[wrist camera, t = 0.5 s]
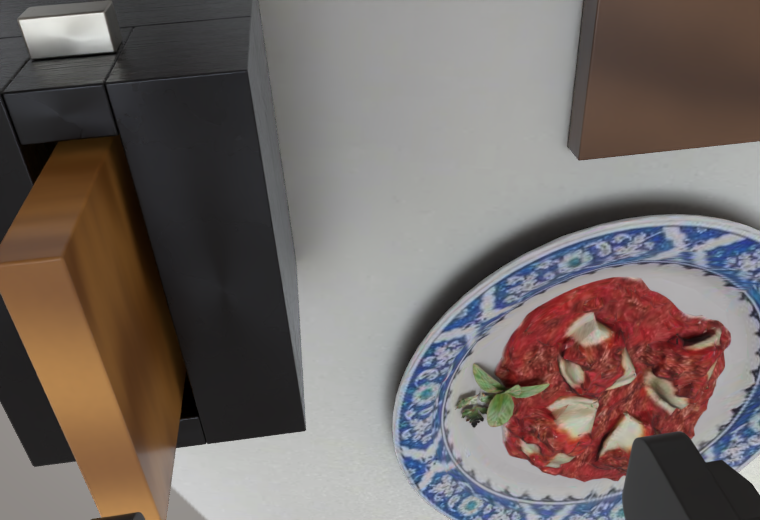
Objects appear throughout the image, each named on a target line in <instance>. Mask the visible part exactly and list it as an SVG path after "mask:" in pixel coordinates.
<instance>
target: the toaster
mask: <svg viewBox="0 0 760 520" xmlns="http://www.w3.org/2000/svg"><path fill="white" fill-rule="evenodd" d="M117 135H119V136H120V139H121V143H122V146H123V150H124V153H125V157H126V160H127V164H128V167H129V171H130V174H131V178H132V181H133V185H134V188H135V192H136V195H137V199H138V202H139V206H140V209H141V213H142V216H143V220H144V224H145V227H146V231H147V234H148V238H149V241H150V245H151V248H152V252H153V255H154V259H155V262H156V266H157V269H158V273H159V276H160V280H161V283H162V287H163V290H164V294H165V297H166V301H167V304H168V308H169V312H170V315H171V319H172V322H173V326H174V329H175V333H176V336H177V340H178V343H179V347H180V350H181V354H182V357H183V361H184V364H185V368H186V378H185V385H184V393H183V400H182V407H181V415H180V422H179V429H178V437H177V444H176V448H180V447H187V446H195V445H202V444H206V442H207V444H211V443H219V442H226V441H234V440H241V439H249V438H256V437H264V436H271V435H279V434H286V433H294V432H301V431H305V430H306V422H305V405H304V387H303V370H302V352H301V335H300V317H299V300H298V282H297V265H296V258H295V251H294V244H293V237H292V230H291V223H290V216H289V209H288V202H287V196H286V189H285V182H284V175H283V168H282V161H281V154H280V147H279V140H278V133H277V126H276V119H275V113H274V106H273V99H272V92H271V85H270V78H269V71H268V64H267V57H266V50H265V43H264V36H263V30H262V23H261V16H260V9H259V2H258V0H0V244H1V242H2V240H3V238H4V236H5V235H6V233H7V231H8V229H9V228H10V226H11V224H12V222H13V221H14V219H15V217H16V215H17V214H18V212H19V210H20V208H21V206H22V205H23V203H24V201H25V199H26V198H27V196H28V194H29V192H30V191H31V189H32V187H33V185H34V183H35V182H36V180H37V178H38V176H39V175H40V173H41V171H42V169H43V168H44V166H45V164H46V162H47V161H48V159H49V157H50V155H51V153H52V152H53V150H54V148H55V146H56V145H57V143H58V141H68V140H79V139H89V138H99V137H109V136H117ZM0 402H1V404H2V406H3V408H4V410H5V412H6V414H7V416H8V418H9V420H10V422H11V424H12V426H13V428H14V429H15V432H16V434H17V436H18V437H19V439H20V441H21V443H22V445H23V447H24V449H25V451H26V453H27V455H28V457H29V459H30V461H31V463H32V465H33V466H34V467H37V466H44V465H52V464H59V463H66V462H74V461H76V460H75V457H74V455H73V453H72V451H71V449H70V446H69V444H68V442H67V440H66V438H65V435H64V433H63V431H62V429H61V426H60V424H59V422H58V420H57V418H56V415H55V413H54V411H53V409H52V407H51V404H50V402H49V400H48V398H47V395H46V393H45V391H44V389H43V387H42V384H41V382H40V380H39V378H38V376H37V373H36V371H35V369H34V367H33V364H32V362H31V360H30V358H29V356H28V353H27V351H26V349H25V347H24V345H23V342H22V340H21V338H20V336H19V333H18V331H17V329H16V327H15V325H14V322H13V320H12V318H11V316H10V314H9V311H8V309H7V307H6V305H5V302H4V300H3V298H2V296H1V294H0Z"/></svg>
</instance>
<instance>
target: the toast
mask: <svg viewBox="0 0 760 520" xmlns="http://www.w3.org/2000/svg"><path fill="white" fill-rule="evenodd" d="M0 294H1V296H2V298H3V300H4V302H5V305H6V307H7V309H8V311H9V314H10V316H11V318H12V320H13V322H14V325H15V327H16V329H17V331H18V333H19V336H20V338H21V340H22V342H23V345H24V347H25V349H26V351H27V353H28V356H29V358H30V360H31V362H32V364H33V367H34V369H35V371H36V373H37V376H38V378H39V380H40V382H41V384H42V387H43V389H44V391H45V393H46V395H47V398H48V400H49V402H50V404H51V407H52V409H53V411H54V413H55V415H56V418H57V420H58V422H59V424H60V426H61V429H62V431H63V433H64V435H65V438H66V440H67V442H68V444H69V446H70V449H71V451H72V453H73V455H74V457H75V460H76V462H77V464H78V466H79V469H80V471H81V473H82V475H83V477H84V479H85V482H86V484H87V486H88V488H89V490H90V493H91V495H92V497H93V499H94V502H95V504H96V506H97V508H98V511H99V513H100V515H101V517H109V516H115V515H122V514H129V513H135V512H141V513H142V514H143V516H144V518H145V520H166V517H167V510H168V502H169V495H170V488H171V481H172V473H173V466H174V459H175V451H176V444H177V437H178V429H179V422H180V415H181V407H182V400H183V393H184V385H185V378H186V368H185V364H184V361H183V357H182V354H181V350H180V347H179V343H178V340H177V336H176V333H175V329H174V326H173V322H172V319H171V315H170V312H169V308H168V304H167V301H166V297H165V294H164V290H163V287H162V283H161V280H160V276H159V273H158V269H157V266H156V262H155V259H154V255H153V252H152V248H151V245H150V241H149V238H148V234H147V231H146V227H145V224H144V220H143V216H142V213H141V209H140V206H139V202H138V199H137V195H136V192H135V188H134V185H133V181H132V178H131V174H130V171H129V167H128V164H127V160H126V157H125V153H124V150H123V146H122V143H121V139H120V136H119V135H117V136H109V137H99V138H89V139H79V140H68V141H58V143H57V145H56V146H55V148H54V150H53V152H52V153H51V155H50V157H49V159H48V161H47V162H46V164H45V166H44V168H43V169H42V171H41V173H40V175H39V176H38V178H37V180H36V182H35V183H34V185H33V187H32V189H31V191H30V192H29V194H28V196H27V198H26V199H25V201H24V203H23V205H22V206H21V208H20V210H19V212H18V214H17V215H16V217H15V219H14V221H13V222H12V224H11V226H10V228H9V229H8V231H7V233H6V235H5V236H4V238H3V240H2V242H1V244H0Z"/></svg>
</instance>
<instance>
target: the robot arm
mask: <svg viewBox="0 0 760 520" xmlns="http://www.w3.org/2000/svg"><path fill="white" fill-rule="evenodd" d="M622 505H623V511H624V516H625V520H760V495H759V493H758V492H757V490H756V489H755V488H754V486H753V485H752V484H751V483H750V482H749V481H748V480H747V479H745V478H744V477H743V476H742V475H740V474H739V473H738V472H737V471H735V470H734V469H733V468H732V467H731V466H729V465H728V464H727V463H726V462H724V461H723V460H717V461H711V462H705V461H704V459H703V457H702V456H701V454H700V453H699V451H698V449H697V448H696V446H695V445H694V443H693V442H692V440H691V439H690V438H689V437H688V435H686V434H685V433H684V432H681V431H677V432H671V433H664V434H658V435H651V436H645V437H638V438H636V439H635V440H634V441H633V444H632V448H631V453H630V458H629V463H628V468H627V473H626V477H625V482H624V487H623V492H622ZM92 520H145V518H144V516H143V514H142V513H141V512H135V513H129V514H122V515H115V516H109V517H102V518H96V519H92Z"/></svg>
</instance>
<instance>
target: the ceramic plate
mask: <svg viewBox="0 0 760 520" xmlns="http://www.w3.org/2000/svg"><path fill="white" fill-rule="evenodd" d="M677 431H681V432H684V433H685V434H686V435H688V437H689V438H690V439H691V440H692V442H693V443H694V445H695V446H696V448H697V449H698V451H699V453H700V454H701V456H702V457H703V459H704V461H705V462H711V461H717V460H723V461H724V462H726V463H727V464H728V465H729V466H731V467H732V468H733V469H734V470H735V471H737V472H740V471H741V470H742V469H743V468H744V467H745V466H747V465H748V464H749V463H750V462H751V461H752V460H754V459H755V458H756V457H757V456H758V455H759V454H760V230H757V229H755V228H752V227H749V226H747V225H744V224H742V223H738V222H734V221H730V220H726V219H722V218H716V217H709V216H702V215H686V214H666V215H649V216H641V217H634V218H627V219H622V220H617V221H612V222H608V223H603V224H599V225H596V226H593V227H590V228H586V229H583V230H580V231H577V232H574V233H571V234H567V235H564V236H562V237H559V238H557V239H555V240H553V241H551V242H549V243H546V244H544V245H542V246H540V247H538V248H536V249H533V250H531V251H529V252H527V253H525V254H523V255H521V256H520V257H518V258H516V259H515V260H513V261H511V262H509V263H508V264H506V265H504V266H502V267H501V268H500V269H498V270H497V271H495V272H494V273H492V274H491V275H489V276H488V277H486V278H485V279H483V280H482V281H481V282H480V283H478V284H477V285H476V286H475V287H473V288H472V289H471V290H470V291H468V292H467V293H466V294H465V295H463V296H462V297H461V298H460V299H459V300H458V301H457V302H456V303H455V304H454V305H453V306H452V307H451V308H450V309H449V310H448V311H447V312H446V313H445V314H444V315H443V316H442V317H441V318H440V319H439V321H438V322H437V323H436V324H435V325H434V326H433V327H432V328H431V330H430V331H429V333H428V334H427V335H426V337H425V338H424V339H423V341H422V342H421V343H420V345H419V346H418V348H417V350H416V351H415V353H414V355H413V357H412V358H411V360H410V362H409V364H408V366H407V368H406V370H405V372H404V375H403V377H402V379H401V382H400V385H399V388H398V392H397V395H396V399H395V404H394V410H393V424H392V433H393V441H394V448H395V453H396V457H397V460H398V463H399V465H400V468H401V470H402V472H403V474H404V476H405V477H406V479H407V480H408V482H409V484H410V485H411V487H412V488H413V489H414V490H415V492H416V493H417V494H418V495H419V496H420V497H421V498H422V499H423V500H424V501H425V502H426V503H427V504H428V505H430V506H431V507H433V508H434V509H435V510H437V511H438V512H439V513H441V514H443V515H444V516H446V517H448V518H449V519H451V520H625V516H624V511H623V505H622V492H623V487H624V482H625V477H626V473H627V468H628V463H629V458H630V453H631V448H632V444H633V441H634V440H635V439H636V438H638V437H645V436H651V435H658V434H664V433H671V432H677Z"/></svg>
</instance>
